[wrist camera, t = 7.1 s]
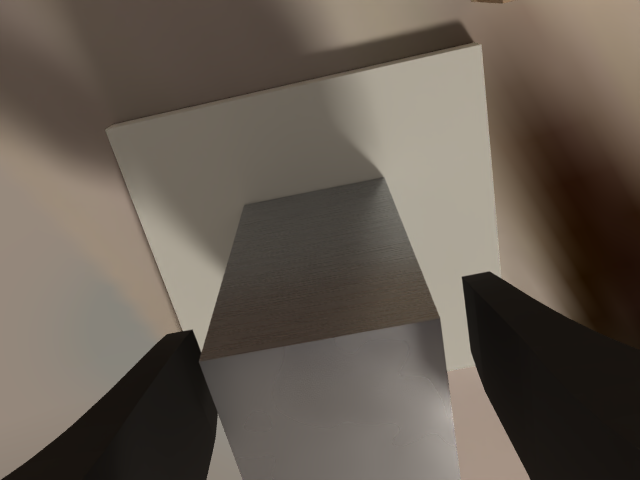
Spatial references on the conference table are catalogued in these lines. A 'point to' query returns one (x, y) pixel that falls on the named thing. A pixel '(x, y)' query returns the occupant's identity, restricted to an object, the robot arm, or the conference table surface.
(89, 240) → the conference table surface
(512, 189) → the conference table surface
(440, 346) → the key peg
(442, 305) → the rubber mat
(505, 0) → the holder block
